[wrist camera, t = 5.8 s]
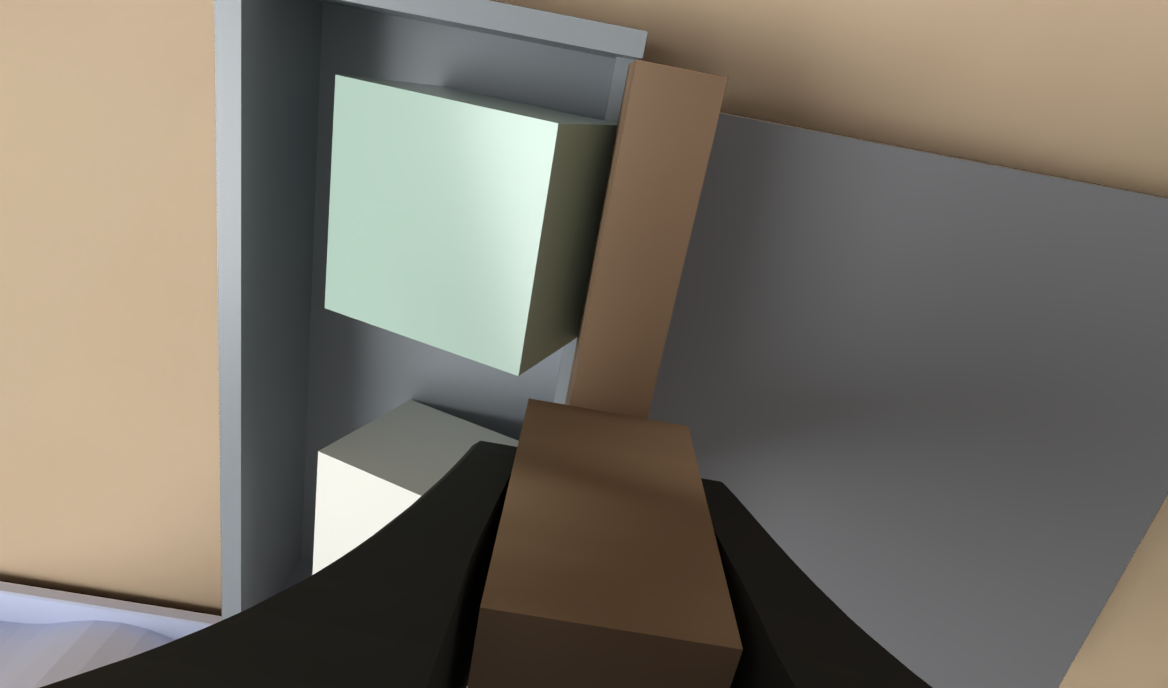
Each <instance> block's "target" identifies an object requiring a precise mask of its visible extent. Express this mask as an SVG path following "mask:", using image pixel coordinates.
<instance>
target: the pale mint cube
mask: <svg viewBox="0 0 1168 688" xmlns="http://www.w3.org/2000/svg"><path fill="white" fill-rule="evenodd" d="M617 124H618V123H614V122H609V121H604V120H600V119H595V118H590V117H586V116H581V115H576V114H571V113H567V112H562V111H557V110H553V109H548V108H543V107H538V106H534V105H529V104H524V103H520V102H515V101H510V100H506V99H501V98H496V97H491V96H487V95H482V94H477V93H473V92H468V91H463V90H459V89H454V88H449V87H444V86H438V85H428V84H419V83H410V82H400V81H391V80H381V79H372V78H363V77H353V76H344V75H335V95H334V117H333V138H332V160H331V181H330V203H329V224H328V246H327V268H326V289H325V308H326V309H329V310H331V311H334V312H337V313H340V314H343V315H346V316H348V317H351V318H354V319H357V320H360V321H363V322H366V323H368V324H371V325H374V326H377V327H380V328H383V329H386V330H388V331H391V332H394V333H397V334H400V335H403V336H405V337H408V338H411V339H414V340H417V341H420V342H423V343H425V344H428V345H431V346H434V347H437V348H440V349H443V350H445V351H448V352H451V353H454V354H457V355H460V356H462V357H465V358H468V359H471V360H474V361H477V362H480V363H482V364H485V365H488V366H491V367H494V368H497V369H500V370H502V371H505V372H508V373H511V374H514V375H517V376H519V375H521V374H522V373H524V372H526V371H527V370H529V369H530V368H532V367H533V366H535V365H536V364H538V363H539V362H541V361H542V360H544V359H545V358H547V357H548V356H550V355H551V354H553V353H554V352H556V351H557V350H559V349H560V348H562V347H563V346H565V345H566V344H568V343H570V342H571V341H573V340H574V339H576V338H577V336H578V331H579V326H580V320H581V315H582V310H583V305H584V299H585V294H586V289H587V283H588V278H589V273H590V267H591V262H592V257H593V251H594V246H595V241H596V235H597V230H598V225H599V219H600V214H601V209H602V203H603V198H604V193H605V188H606V182H607V177H608V172H609V166H610V161H611V156H612V150H613V145H614V140H615V134H616V129H617Z"/></svg>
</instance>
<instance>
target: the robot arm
mask: <svg viewBox="0 0 1168 688" xmlns="http://www.w3.org/2000/svg"><path fill="white" fill-rule="evenodd" d="M516 451H517V447H515V446H510V445H504V444H498V443H492V442H486V441H479V442H477V443H476V444H474V445H472V446H471V448H470V449H469V450H468V451H467V452H466V453H465V454H464V456H463V457H462V458H461V459H460V460H459V461H458V462H457V463H456V464H455V465H454V466H453V467H452V468H451V469H450V470H449V471H448V472H447V473H446V474H445V475H444V476H443V477H442V478H441V479H440V480H439V481H438V482H437V483H436V484H434V485H433V486H432V487H431V488H430V489H429V490H428V491H427V492H425V493H424V494H423V495H422V496H421V497H420V498H419V499H418V500H417V501H415V502H414V503H413V504H412V505H411V506H410V507H408V508H407V509H406V510H405V511H403V512H402V513H401V514H400V515H398V516H397V517H396V518H394V519H393V520H392V521H391V522H389V523H388V524H387V525H385V526H384V527H383V528H382V529H380V530H379V531H378V532H376V533H375V534H374V535H373V536H371V537H370V538H368V539H367V540H366V541H364V542H363V543H361V544H360V545H358V546H357V547H356V548H354V549H353V550H351V551H350V552H348V553H347V554H345V555H344V556H342V557H341V558H339V559H337V560H336V561H334V562H333V563H331V564H329V565H328V566H326V567H325V568H323V569H321V570H320V571H318V572H317V573H315V574H313V575H312V576H310V577H308V578H306V579H304V580H303V581H301V582H299V583H297V584H295V585H293V586H291V587H289V588H287V589H285V590H283V591H281V592H279V593H278V594H276V595H274V596H272V597H270V598H268V599H266V600H264V601H262V602H260V603H258V604H256V605H254V606H252V607H250V608H248V609H246V610H244V611H242V612H240V613H238V614H235V615H233V616H231V617H229V618H226V619H224V620H222V616H217V615H211V614H205V613H198V612H192V611H186V610H179V609H173V608H167V607H160V606H154V605H148V604H141V603H135V602H129V601H122V600H116V599H110V598H103V597H97V596H91V595H84V594H78V593H72V592H65V591H59V590H53V589H46V588H40V587H34V586H27V585H21V584H15V583H8V582H2V581H0V688H467V686H468V680H469V674H470V668H471V661H472V655H473V649H474V642H475V636H476V630H477V623H478V617H479V611H480V605H481V601H482V597H483V592H484V588H485V584H486V580H487V575H488V571H489V567H490V562H491V558H492V554H493V549H494V545H495V541H496V537H497V532H498V528H499V524H500V519H501V515H502V511H503V507H504V502H505V498H506V494H507V489H508V485H509V481H510V477H511V472H512V468H513V464H514V459H515V455H516ZM701 480H702V484H703V488H704V492H705V497H706V501H707V505H708V509H709V513H710V517H711V521H712V525H713V529H714V533H715V537H716V541H717V546H718V550H719V554H720V558H721V562H722V566H723V570H724V574H725V578H726V582H727V586H728V590H729V595H730V599H731V603H732V607H733V611H734V615H735V619H736V623H737V627H738V631H739V635H740V639H741V644H742V648H743V651H742V654H741V657H740V660H739V663H738V666H737V669H736V672H735V675H734V678H733V680H732V683H731V686H730V688H933V687H931V686H930V685H929V684H927V683H926V682H925V681H924V680H922V679H921V678H920V677H918V676H917V675H916V674H915V673H913V672H912V671H911V670H910V669H908V668H907V667H906V666H905V665H904V664H902V663H901V662H900V661H899V660H898V659H897V658H895V657H894V656H893V655H892V654H891V653H889V652H888V651H887V650H886V649H885V648H883V647H882V646H881V645H880V644H879V643H878V642H876V641H875V640H874V639H873V638H872V637H870V636H869V635H868V634H867V633H866V632H865V631H864V630H863V629H861V628H860V627H859V626H858V625H857V624H856V623H855V622H854V621H853V620H852V619H850V618H849V617H848V616H847V615H846V614H845V613H844V612H843V611H842V610H841V609H840V608H839V607H838V606H837V605H836V604H835V603H834V602H833V601H832V600H831V599H830V598H829V597H828V596H827V595H826V594H825V593H824V592H823V591H822V590H821V589H820V588H819V587H818V586H817V585H816V584H815V583H814V582H813V581H812V580H811V579H810V578H809V577H808V576H807V575H806V574H805V573H804V572H803V571H802V570H801V569H800V568H799V567H798V566H797V565H796V564H795V562H794V561H793V560H792V559H791V558H790V557H789V556H788V555H787V554H786V553H785V552H784V550H783V549H782V548H781V547H780V546H779V545H778V544H777V543H776V542H775V540H774V539H773V538H772V537H771V536H770V535H769V534H768V533H767V532H766V530H765V529H764V528H763V527H762V526H761V525H760V523H759V522H758V521H757V520H756V519H755V518H754V517H753V515H752V514H751V513H750V512H749V511H748V510H747V509H746V507H745V506H744V505H743V504H742V503H741V502H740V501H739V499H738V498H737V497H736V496H735V495H734V494H733V493H732V492H731V491H730V490H729V488H728V487H727V486H726V485H725V484H724V483H723V482H720V481H714V480H708V479H702V478H701Z"/></svg>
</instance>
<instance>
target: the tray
mask: <svg viewBox="0 0 1168 688" xmlns="http://www.w3.org/2000/svg"><path fill="white" fill-rule="evenodd" d="M214 10H215V93H216V176H217V258H218V341H219V424H220V507H221V589H222V620H224V619H226V618H229V617H231V616H233V615H235V614H238V613H240V612H242V611H244V610H246V609H248V608H250V607H252V606H254V605H256V604H258V603H260V602H262V601H264V600H266V599H268V598H270V597H272V596H274V595H276V594H278V593H279V592H281V591H283V590H285V589H287V588H289V587H291V586H293V585H295V584H297V583H299V582H301V581H303V580H304V579H306V578H308V577H310V576H312V573H313V552H314V530H315V509H316V487H317V466H318V451H320V450H321V449H323V448H325V447H327V446H328V445H330V444H332V443H334V442H336V441H337V440H339V439H341V438H343V437H345V436H346V435H348V434H350V433H352V432H354V431H355V430H357V429H359V428H361V427H363V426H364V425H366V424H368V423H370V422H371V421H373V420H375V419H377V418H379V417H380V416H382V415H384V414H386V413H388V412H389V411H391V410H393V409H395V408H397V407H398V406H400V405H402V404H404V403H405V402H407V401H409V400H414V401H416V402H419V403H421V404H424V405H427V406H429V407H432V408H434V409H437V410H440V411H442V412H445V413H447V414H450V415H453V416H455V417H458V418H460V419H463V420H466V421H468V422H471V423H473V424H476V425H479V426H481V427H484V428H487V429H489V430H492V431H494V432H497V433H500V434H502V435H505V436H507V437H510V438H513V439H515V440H518V441H519V438H520V434H521V429H522V425H523V421H524V416H525V412H526V408H527V404H528V399H529V398H530V399H536V400H541V401H547V402H553V403H559V404H564V405H565V400H566V395H567V390H568V384H569V379H570V374H571V368H572V363H573V358H574V352H575V347H576V342H577V338H576V339H574V340H573V341H571V342H570V343H568V344H566V345H565V346H563V347H562V348H560V349H559V350H557V351H556V352H554V353H553V354H551V355H550V356H548V357H547V358H545V359H544V360H542V361H541V362H539V363H538V364H536V365H535V366H533V367H532V368H530V369H529V370H527V371H526V372H524V373H522V374H521V375H519V376H517V375H514V374H511V373H508V372H505V371H502V370H500V369H497V368H494V367H491V366H488V365H485V364H482V363H480V362H477V361H474V360H471V359H468V358H465V357H462V356H460V355H457V354H454V353H451V352H448V351H445V350H443V349H440V348H437V347H434V346H431V345H428V344H425V343H423V342H420V341H417V340H414V339H411V338H408V337H405V336H403V335H400V334H397V333H394V332H391V331H388V330H386V329H383V328H380V327H377V326H374V325H371V324H368V323H366V322H363V321H360V320H357V319H354V318H351V317H348V316H346V315H343V314H340V313H337V312H334V311H331V310H329V309H326V308H325V289H326V268H327V246H328V224H329V203H330V181H331V160H332V138H333V117H334V95H335V75H344V76H353V77H363V78H372V79H381V80H391V81H400V82H410V83H419V84H428V85H438V86H444V87H449V88H454V89H459V90H463V91H468V92H473V93H477V94H482V95H487V96H491V97H496V98H501V99H506V100H510V101H515V102H520V103H524V104H529V105H534V106H538V107H543V108H548V109H553V110H557V111H562V112H567V113H571V114H576V115H581V116H586V117H590V118H595V119H600V120H604V121H609V122H614V123H618V118H619V113H620V108H621V102H622V97H623V92H624V87H625V81H626V76H627V71H628V65H629V64H630V63H631V62H633V61H635V60H641V59H643V54H644V49H645V44H646V38H647V33H648V31H643V30H638V29H633V28H628V27H623V26H618V25H612V24H607V23H602V22H597V21H592V20H587V19H582V18H577V17H572V16H566V15H561V14H556V13H551V12H546V11H541V10H536V9H531V8H526V7H520V6H515V5H510V4H505V3H500V2H495V1H490V0H214Z"/></svg>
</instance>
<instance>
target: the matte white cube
mask: <svg viewBox="0 0 1168 688" xmlns="http://www.w3.org/2000/svg"><path fill="white" fill-rule="evenodd" d="M479 441H486V442H492V443H498V444H504V445H510V446H515V447H518V442H519V441H518V440H515V439H513V438H510V437H507V436H505V435H502V434H500V433H497V432H494V431H492V430H489V429H487V428H484V427H481V426H479V425H476V424H473V423H471V422H468V421H466V420H463V419H460V418H458V417H455V416H453V415H450V414H447V413H445V412H442V411H440V410H437V409H434V408H432V407H429V406H427V405H424V404H421V403H419V402H416V401H414V400H409V401H407V402H405V403H404V404H402V405H400V406H398V407H397V408H395V409H393V410H391V411H389V412H388V413H386V414H384V415H382V416H380V417H379V418H377V419H375V420H373V421H371V422H370V423H368V424H366V425H364V426H363V427H361V428H359V429H357V430H355V431H354V432H352V433H350V434H348V435H346V436H345V437H343V438H341V439H339V440H337V441H336V442H334V443H332V444H330V445H328V446H327V447H325V448H323V449H321V450H320V451H318V466H317V487H316V509H315V530H314V552H313V573H312V575H313V574H315V573H317V572H318V571H320V570H321V569H323V568H325V567H326V566H328V565H329V564H331V563H333V562H334V561H336V560H337V559H339V558H341V557H342V556H344V555H345V554H347V553H348V552H350V551H351V550H353V549H354V548H356V547H357V546H358V545H360V544H361V543H363V542H364V541H366V540H367V539H368V538H370V537H371V536H373V535H374V534H375V533H376V532H378V531H379V530H380V529H382V528H383V527H384V526H385V525H387V524H388V523H389V522H391V521H392V520H393V519H394V518H396V517H397V516H398V515H400V514H401V513H402V512H403V511H405V510H406V509H407V508H408V507H410V506H411V505H412V504H413V503H414V502H415V501H417V500H418V499H419V498H420V497H421V496H422V495H423V494H424V493H425V492H427V491H428V490H429V489H430V488H431V487H432V486H433V485H434V484H436V483H437V482H438V481H439V480H440V479H441V478H442V477H443V476H444V475H445V474H446V473H447V472H448V471H449V470H450V469H451V468H452V467H453V466H454V465H455V464H456V463H457V462H458V461H459V460H460V459H461V458H462V457H463V456H464V454H465V453H466V452H467V451H468V450H469V449H470V448H471V446H472V445H474V444H476V443H477V442H479ZM467 687H468V686H467Z"/></svg>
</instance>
